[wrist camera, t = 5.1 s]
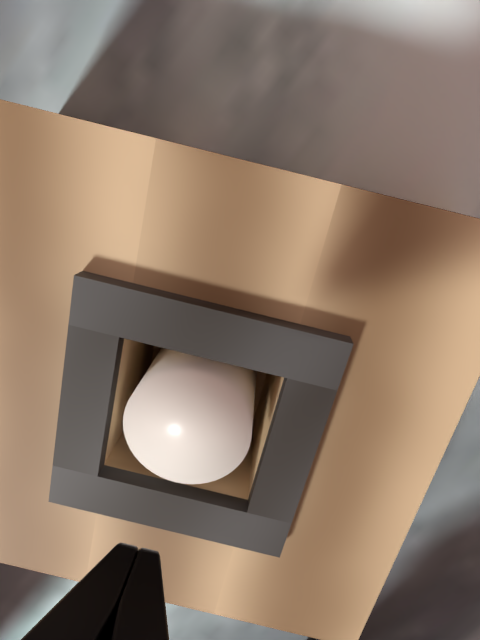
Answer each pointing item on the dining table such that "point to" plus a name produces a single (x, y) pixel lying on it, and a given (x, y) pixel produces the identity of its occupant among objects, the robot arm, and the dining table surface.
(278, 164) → the dining table surface
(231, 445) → the dowel
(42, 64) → the dining table surface
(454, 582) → the dining table surface
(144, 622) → the robot arm
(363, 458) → the socket block
